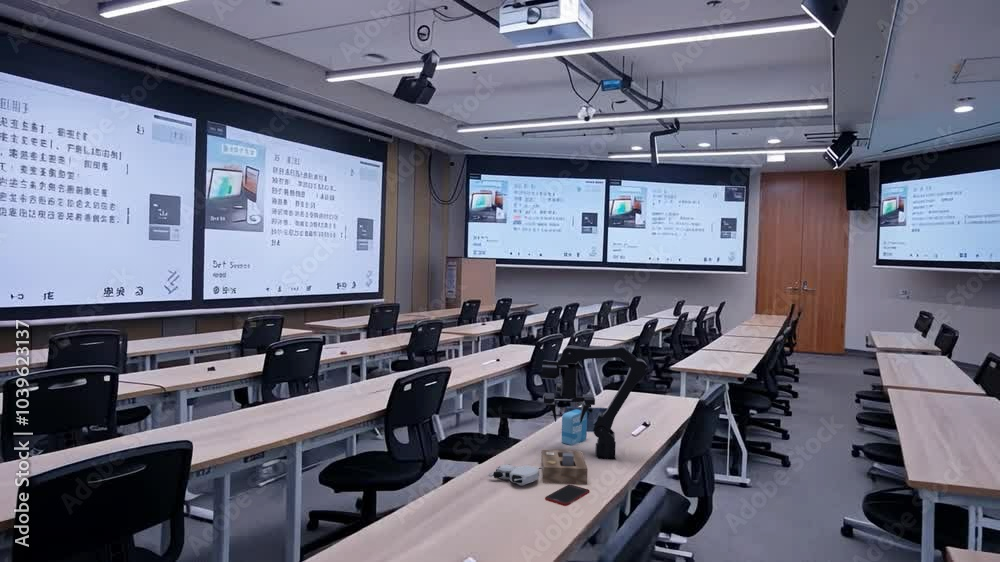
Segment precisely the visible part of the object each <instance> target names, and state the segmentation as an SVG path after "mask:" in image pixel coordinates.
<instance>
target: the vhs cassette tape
mask: <svg viewBox="0 0 1000 562" xmlns="http://www.w3.org/2000/svg"><path fill="white" fill-rule="evenodd" d="M581 407H582V406H566V407H565V413H567V412H570V411H573V410H576V409H578V410H581ZM607 408H608V407H592V406H591V407H589V408H588V409H587V411H586V412H587V432H588V433H594V432H593V427H594V425H593V422H594V419H596V417H597V415H598V413H599V412H600V413H601V414H603V413H604V412H605V411H606V410H607Z"/></svg>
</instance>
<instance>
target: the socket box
mask: <svg viewBox="0 0 1000 562" xmlns="http://www.w3.org/2000/svg"><path fill="white" fill-rule="evenodd" d="M563 453H573V455H574V464H573V466H562V457H563ZM540 459H541V467H543V469H541V473H542V483H543V484H544V483H545V484H546V483H547V484H565V485H588V466H587V463H586V459H585V457H584V453H583V452H582V451H578V450H556V449H555V450H554V449H552V450H550V449H542V450H541V458H540Z"/></svg>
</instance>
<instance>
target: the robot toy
mask: <svg viewBox="0 0 1000 562" xmlns="http://www.w3.org/2000/svg"><path fill="white" fill-rule="evenodd" d="M542 469H543V467H542V466H541V467H538V466H533V465H527V464H526V465H521V466H518V467H516V466H515V465H511V464H502V465H500V466H499V467H496V469H495V471H493V472H488V477H491V478H492V477H493V479H501V480H504V481H505V480H510V481H511V482H512V483H513V484H517V485H518V486H519V487H520V486H521V487H522V486H526V485H527V484H531V483H533V482H536V481H537V479H539V477H540V470H542Z"/></svg>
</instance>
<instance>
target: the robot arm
mask: <svg viewBox="0 0 1000 562" xmlns="http://www.w3.org/2000/svg"><path fill="white" fill-rule="evenodd" d="M611 358H612V359H613V358H615V359H616V358H619V359H620V360H621V361H622V362H623V363H624V364H625V365H627V366H628V372H627V374H626V377H625V379H624V381H623V382H622V384H621V385H620V387H619V388H618V391H617V392H616V394H615V395H614V397H613V399H612V400H611V402H610V403H609V405H608V407H606V408H607V410H606V411H605V412H604V413H603V414H601V413H600V412H599V413H598V415H597V417H596V419H594V422H593V425H594V427H593V432H592V433H593V434H594V436H595V437H596V438H597V441H596V443H595V452H594V453H595V456H596V458H597V459H598V460H615V461H617V457H616V439H615V438H616V437H615V435H616V434H615V432H614V430H612V426H613V424H614V421H615V419H616V416H617V415H618V413H619V411H620V410H621V408H622V407H623V405H624V404H625V402H626V401H627V398H628V397H629V395H630V394H631V392H632V391H633V389H634V388H635V387H636V385H637V384H638V383H640V382H641V381H642V380H643V378H644V377H645V376H646V375H647V373H648V372H649V368H648V364H647V363H646V361H645V360H643V359H642V358H638V357H636V356H635V355H634V354H633V353H631V352H630V351H629V350H628V349H627V348H626V347H625V346H623V345H618V346H598V347H583V346H580V345H573V344H572V345H567V346H565V347H564V348H563V350H562V353H561V356H560V357H558V360H547V359H544V360H542V364H541V365H542V366H541V372H540V373H541V379H543V380H544V379H545V380H558V378H560V377H561V383H559V382H557V383H555V384H556V385H555V389H556V390H555V392H556V393H559V394H560V395H555V393H554V392H544V393H543V394H542V401H543V404H546V406H547V407H550V410H551V412H552V415H553V419H554V422H555V423H556V422H557V408H556V403H555V402H573V403H575V402H576V403H579V402H580V403H581V406H580V407H581V414H580V423H581V422H582V420H583V417H584V415H585V413H586V411H587V409H588V408H589V407H591V408H592V406H595V405H596V398H595V396H594V395H593V394H588V393H587V394H586V393H585V394H582V396H577V395H578V392H577V391H578V370H582V369H583V365H582V364H581V363H580V362H581V361H584V360H590V359H594V360H595V359H611ZM566 364H567V365H566Z"/></svg>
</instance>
